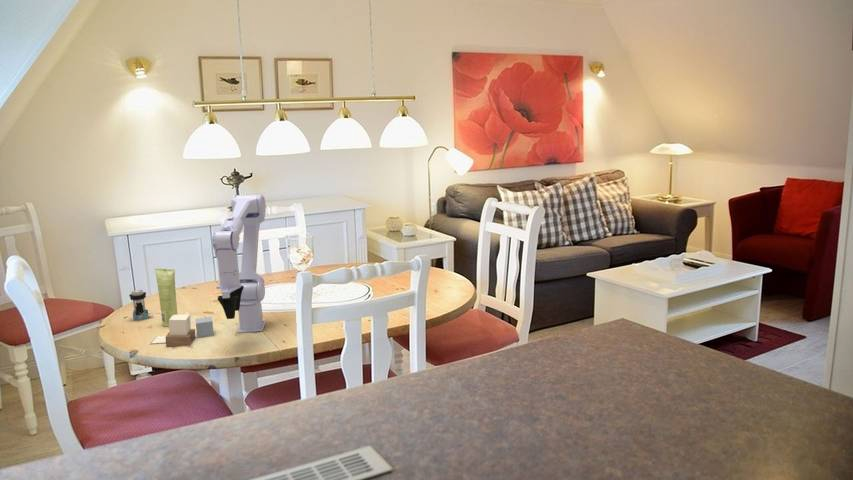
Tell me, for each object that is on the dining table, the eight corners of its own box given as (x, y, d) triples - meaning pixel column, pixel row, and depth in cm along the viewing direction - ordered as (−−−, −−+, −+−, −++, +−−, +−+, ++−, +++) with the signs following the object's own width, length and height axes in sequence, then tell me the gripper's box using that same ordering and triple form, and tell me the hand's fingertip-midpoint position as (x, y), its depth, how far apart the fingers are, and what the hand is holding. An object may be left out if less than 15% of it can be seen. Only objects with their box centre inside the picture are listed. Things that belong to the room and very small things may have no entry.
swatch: (156, 337, 212) (156, 336, 212) (178, 335, 213) (178, 334, 213) (149, 345, 205) (149, 343, 205) (172, 343, 206) (172, 342, 206)
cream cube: (174, 329, 208) (173, 314, 207) (190, 329, 209) (190, 314, 208) (169, 335, 203) (168, 319, 202) (186, 335, 204) (185, 319, 203)
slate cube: (197, 333, 214) (195, 318, 213) (213, 331, 216) (211, 316, 215) (197, 338, 210) (195, 323, 209) (214, 336, 212) (212, 321, 210)
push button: (154, 315, 235) (150, 287, 233) (152, 319, 230) (148, 292, 228) (133, 317, 233) (130, 290, 231) (131, 322, 228) (127, 294, 226)
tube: (179, 321, 227) (172, 265, 223) (181, 325, 223) (174, 268, 219) (161, 324, 225) (154, 268, 221) (163, 328, 220) (155, 271, 216)
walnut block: (172, 337, 210) (172, 328, 209) (195, 337, 210) (194, 328, 210) (165, 346, 203) (165, 336, 202) (189, 346, 203) (189, 336, 203)
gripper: (220, 265, 204) (224, 307, 207) (209, 277, 190) (214, 323, 193) (243, 264, 205) (247, 306, 207) (234, 276, 190) (239, 321, 193)
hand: (233, 314), depth 200 cm, fingers open, 7 cm apart
